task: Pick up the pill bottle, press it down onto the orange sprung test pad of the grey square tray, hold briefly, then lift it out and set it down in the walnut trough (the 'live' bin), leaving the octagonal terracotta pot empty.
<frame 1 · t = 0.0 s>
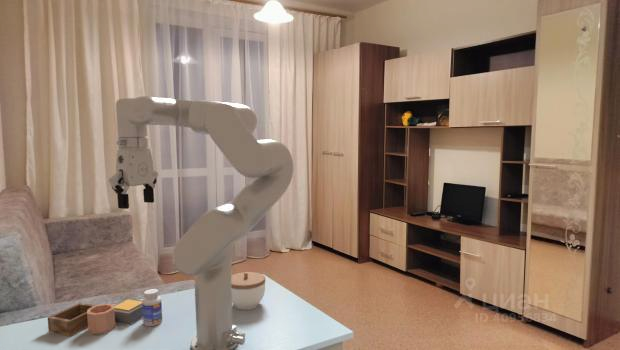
hand: (136, 205, 116), 37 cm above the table, tool pointing down, fingers open, 9 cm apart
octagonal terracotta pot: (102, 328, 122), on the table
test pad: (128, 306, 129), point 3 cm above the table, slide at 0.0 cm
pill bottle: (153, 323, 125), on the table
grey square tray: (129, 316, 129), on the table
lidded bowl: (246, 305, 137), on the table
trough: (76, 325, 124), on the table
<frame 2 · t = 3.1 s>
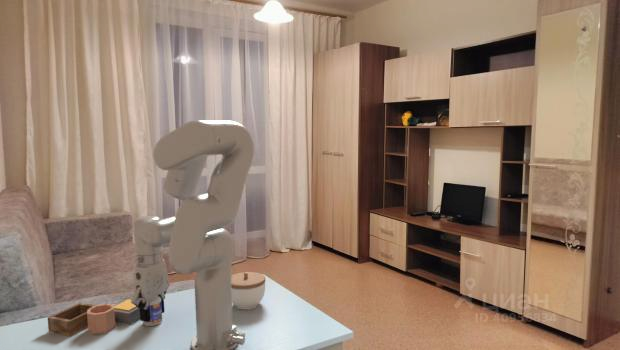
hand: (152, 315, 125), 2 cm above the table, tool pointing down, fingers closed on pill bottle, 5 cm apart
pill bottle: (153, 323, 125), on the table, touching gripper
everything else where it was.
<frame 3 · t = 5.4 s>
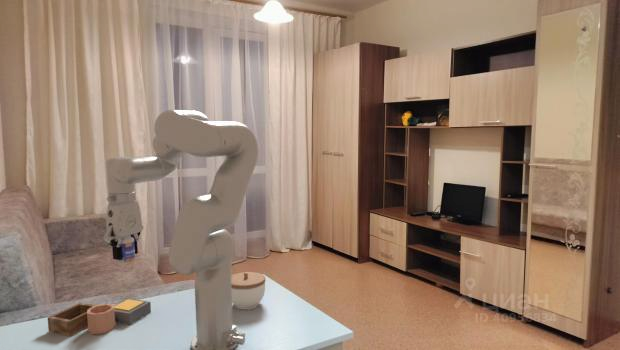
hand: (125, 255, 127), 19 cm above the table, tool pointing down, fingers closed on pill bottle, 5 cm apart
pill bottle: (125, 262, 128), point 17 cm above the table, touching gripper
everything else where it was.
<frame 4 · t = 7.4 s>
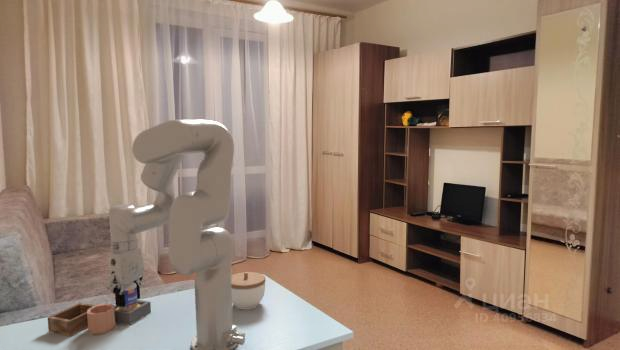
hand: (128, 301, 129), 5 cm above the table, tool pointing down, fingers closed on pill bottle, 5 cm apart
test pad: (128, 309, 129), point 2 cm above the table, slide at -1.0 cm, touching pill bottle
pill bottle: (128, 308, 129), point 3 cm above the table, touching gripper, test pad
everything else where it was.
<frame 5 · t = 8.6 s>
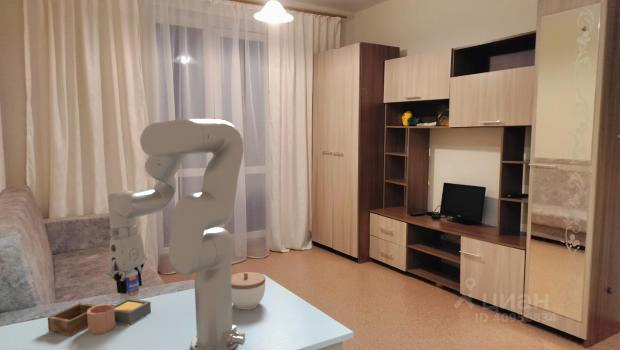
hand: (129, 288, 128), 9 cm above the table, tool pointing down, fingers closed on pill bottle, 5 cm apart
test pad: (128, 308, 129), point 3 cm above the table, slide at -0.6 cm
pill bottle: (130, 295, 128), point 7 cm above the table, touching gripper
everything else where it was.
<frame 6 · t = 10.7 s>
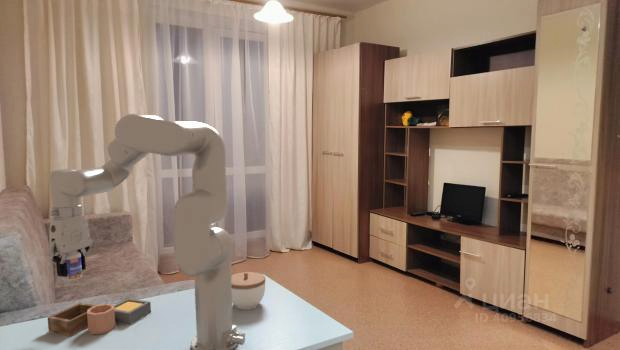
hand: (71, 271, 122), 17 cm above the table, tool pointing down, fingers closed on pill bottle, 5 cm apart
pill bottle: (72, 279, 122), point 14 cm above the table, touching gripper
everything else where it was.
when the fingers open (4 cm above the table, at t = 12.8 s): pill bottle drops 1 cm, resting on trough.
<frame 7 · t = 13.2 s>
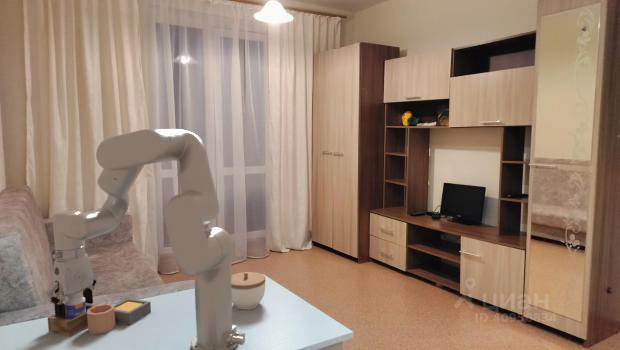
hand: (74, 309, 123), 5 cm above the table, tool pointing down, fingers open, 9 cm apart
pill bottle: (76, 323, 124), point 1 cm above the table, touching trough
everything else where it was.
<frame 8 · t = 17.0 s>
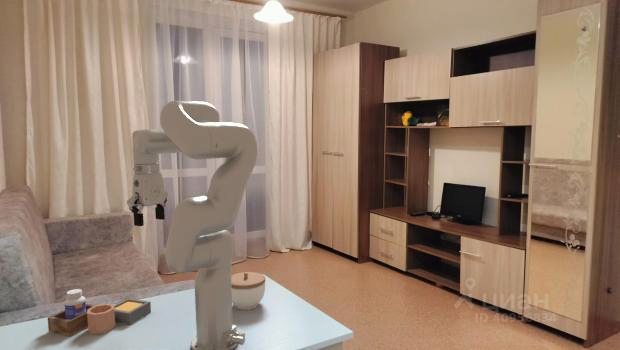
hand: (149, 222, 133), 28 cm above the table, tool pointing down, fingers open, 9 cm apart
nothing on the table moved.
at the end: pill bottle inside the target area on the trough (0.2 cm from its centre), point 0.6 cm above the trough's base; the gripper is holding nothing; pill bottle touching trough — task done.
